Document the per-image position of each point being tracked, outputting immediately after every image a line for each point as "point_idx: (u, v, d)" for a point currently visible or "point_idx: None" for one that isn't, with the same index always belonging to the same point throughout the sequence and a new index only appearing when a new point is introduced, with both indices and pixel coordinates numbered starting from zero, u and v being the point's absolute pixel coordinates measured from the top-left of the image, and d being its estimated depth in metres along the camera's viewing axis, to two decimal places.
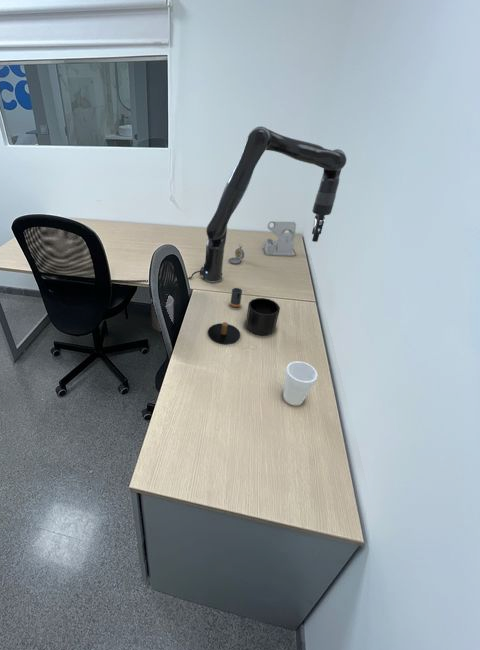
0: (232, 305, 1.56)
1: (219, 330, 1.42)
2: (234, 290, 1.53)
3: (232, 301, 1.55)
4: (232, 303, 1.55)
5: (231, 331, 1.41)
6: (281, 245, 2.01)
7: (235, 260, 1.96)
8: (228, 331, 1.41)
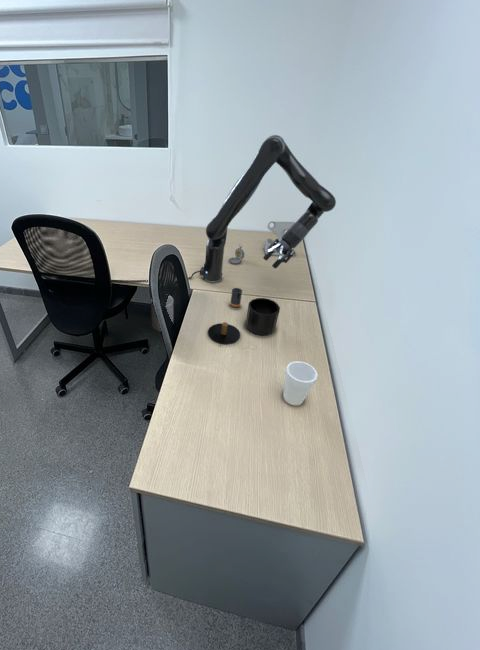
0: (232, 305, 1.56)
1: (219, 330, 1.42)
2: (234, 290, 1.53)
3: (232, 301, 1.55)
4: (232, 303, 1.55)
5: (231, 331, 1.41)
6: None
7: (235, 260, 1.96)
8: (228, 331, 1.41)
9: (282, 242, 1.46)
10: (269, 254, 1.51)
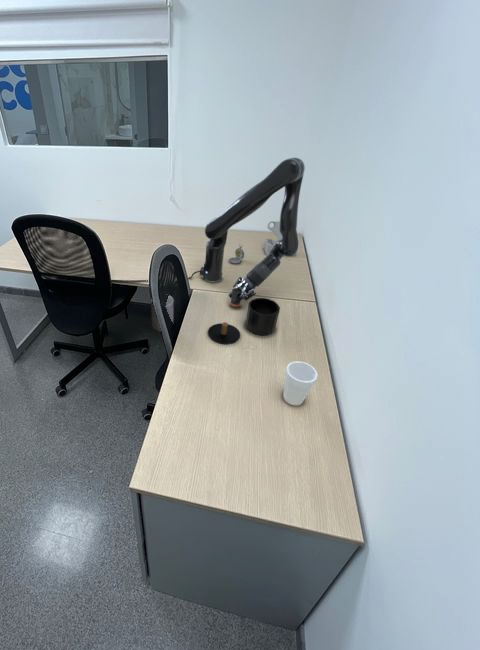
0: (232, 305, 1.56)
1: (219, 330, 1.42)
2: (234, 290, 1.53)
3: (232, 301, 1.55)
4: (232, 303, 1.55)
5: (231, 331, 1.41)
6: None
7: (235, 260, 1.96)
8: (228, 331, 1.41)
9: (246, 280, 1.53)
10: None
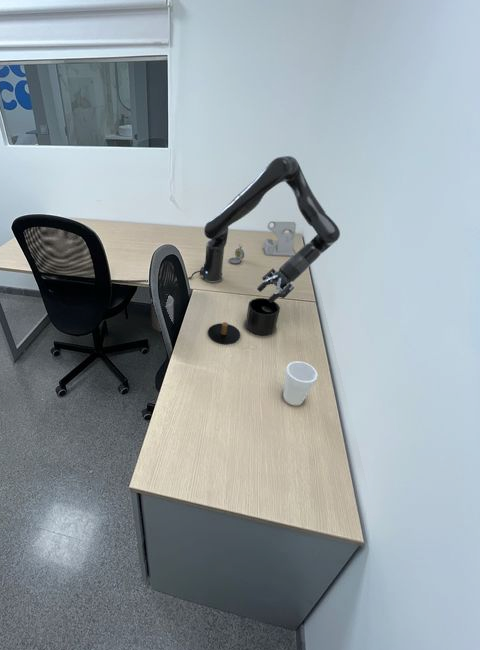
0: None
1: (219, 330, 1.42)
2: (264, 308, 1.39)
3: None
4: None
5: (231, 331, 1.41)
6: (281, 245, 2.01)
7: (235, 260, 1.96)
8: (228, 331, 1.41)
9: (279, 274, 1.32)
10: (264, 285, 1.37)
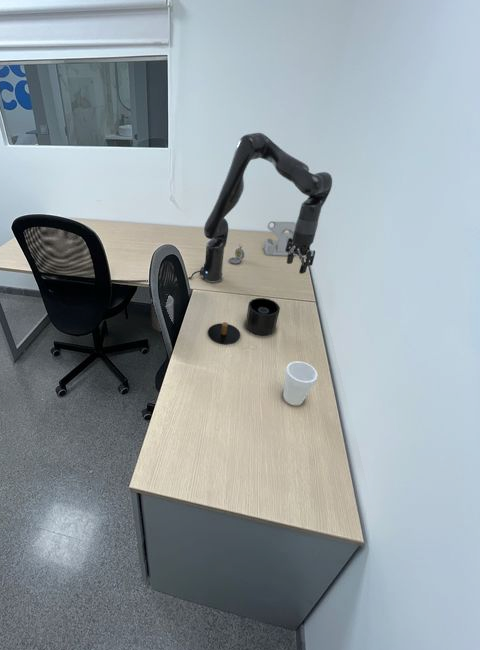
0: None
1: (219, 330, 1.42)
2: (260, 310, 1.39)
3: None
4: None
5: (231, 331, 1.41)
6: (281, 245, 2.01)
7: (235, 260, 1.96)
8: (228, 331, 1.41)
9: None
10: (291, 257, 1.34)
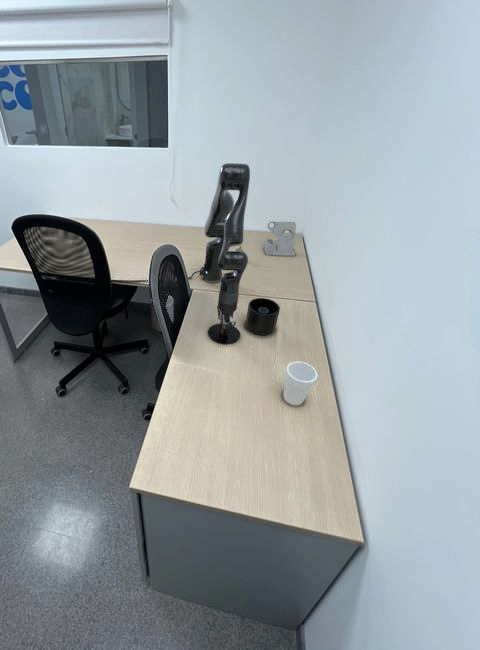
0: None
1: (219, 330, 1.42)
2: (260, 310, 1.39)
3: None
4: None
5: (231, 331, 1.41)
6: (281, 245, 2.01)
7: None
8: None
9: None
10: None
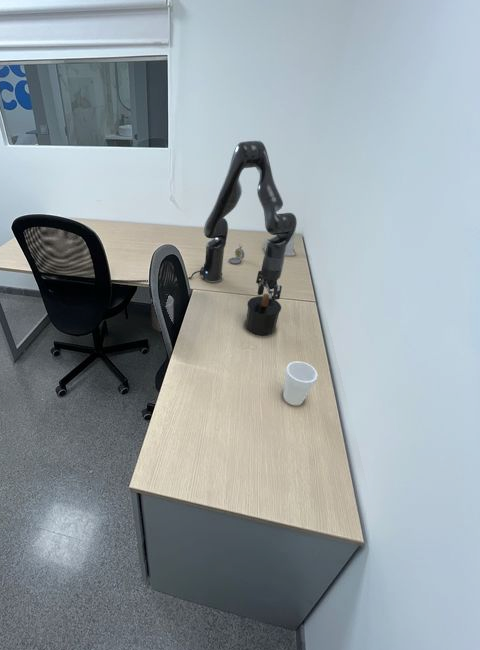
0: None
1: (259, 302, 1.39)
2: None
3: None
4: None
5: None
6: None
7: (235, 260, 1.96)
8: None
9: None
10: (261, 288, 1.38)
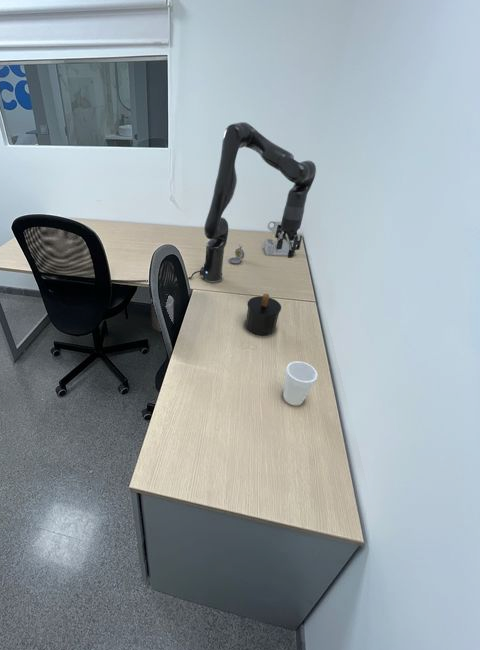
0: None
1: (259, 302, 1.39)
2: None
3: None
4: None
5: (271, 303, 1.39)
6: None
7: (235, 260, 1.96)
8: (268, 303, 1.39)
9: (285, 228, 1.35)
10: (280, 242, 1.42)
